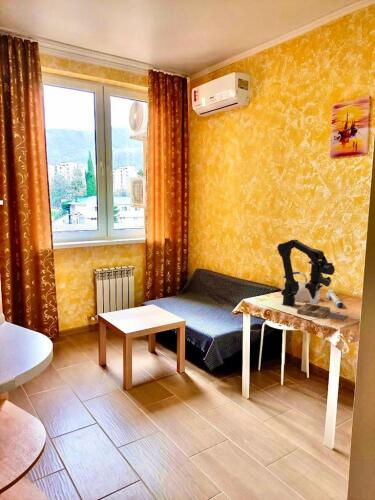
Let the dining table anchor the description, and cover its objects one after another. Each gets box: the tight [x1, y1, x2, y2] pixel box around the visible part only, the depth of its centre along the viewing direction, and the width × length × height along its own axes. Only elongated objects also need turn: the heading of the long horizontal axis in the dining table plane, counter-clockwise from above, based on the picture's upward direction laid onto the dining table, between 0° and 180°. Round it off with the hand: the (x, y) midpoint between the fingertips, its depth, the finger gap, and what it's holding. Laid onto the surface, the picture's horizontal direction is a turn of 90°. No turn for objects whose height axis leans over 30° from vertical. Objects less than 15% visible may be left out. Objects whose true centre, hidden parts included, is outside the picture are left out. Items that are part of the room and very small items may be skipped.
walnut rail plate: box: [296, 303, 331, 319], centre depth 211 cm, size 14×16×2 cm
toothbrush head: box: [325, 289, 344, 309], centre depth 233 cm, size 5×7×25 cm
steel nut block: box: [309, 289, 321, 305], centre depth 210 cm, size 4×4×8 cm
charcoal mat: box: [325, 312, 347, 322], centre depth 204 cm, size 9×9×1 cm
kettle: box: [281, 271, 310, 303], centre depth 243 cm, size 20×21×18 cm
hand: (314, 298), depth 210 cm, fingers closed on steel nut block, 4 cm apart
